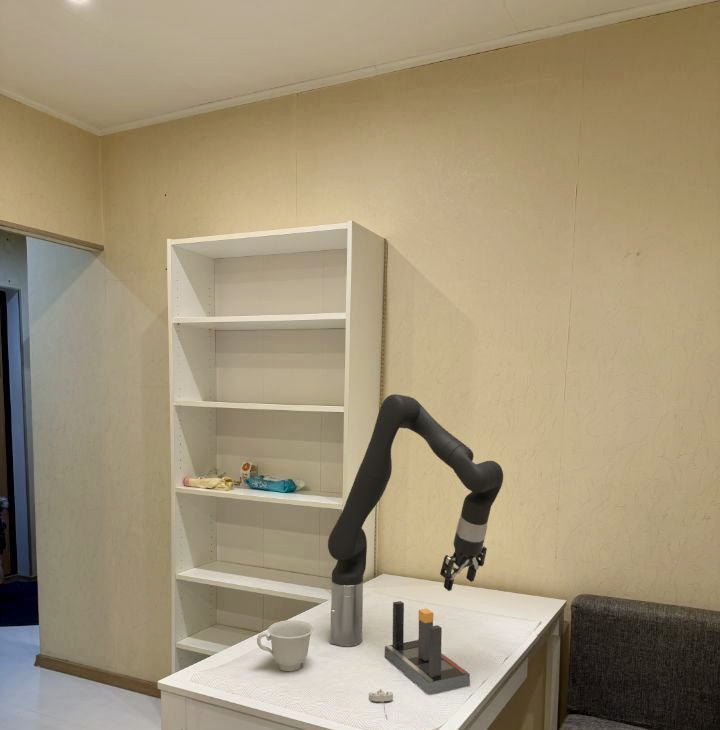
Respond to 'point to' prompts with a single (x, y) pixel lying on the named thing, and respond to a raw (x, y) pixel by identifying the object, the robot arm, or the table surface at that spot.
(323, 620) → the table surface
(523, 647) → the table surface
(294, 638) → the teacup
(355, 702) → the table surface
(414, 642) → the pillared base stand
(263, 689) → the table surface
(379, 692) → the game controller
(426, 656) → the lever
